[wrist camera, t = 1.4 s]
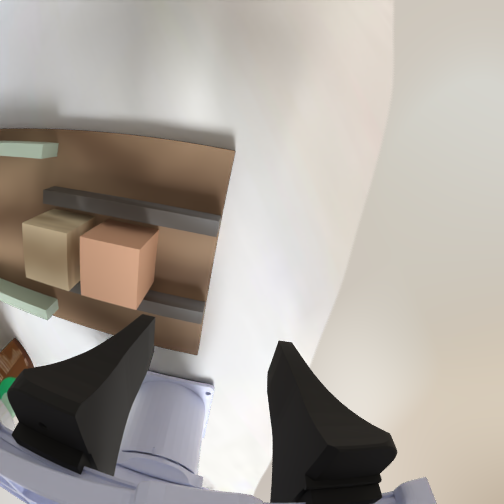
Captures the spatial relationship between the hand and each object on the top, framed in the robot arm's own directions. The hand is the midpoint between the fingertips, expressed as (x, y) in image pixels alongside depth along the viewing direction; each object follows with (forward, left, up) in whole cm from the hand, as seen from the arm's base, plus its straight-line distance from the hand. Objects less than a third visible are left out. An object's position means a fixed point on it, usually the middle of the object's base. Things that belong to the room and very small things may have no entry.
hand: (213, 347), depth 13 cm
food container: (-20, +23, -10) cm, 32 cm away
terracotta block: (0, +7, -8) cm, 11 cm away
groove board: (0, +13, -9) cm, 16 cm away
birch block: (0, +12, -8) cm, 15 cm away
